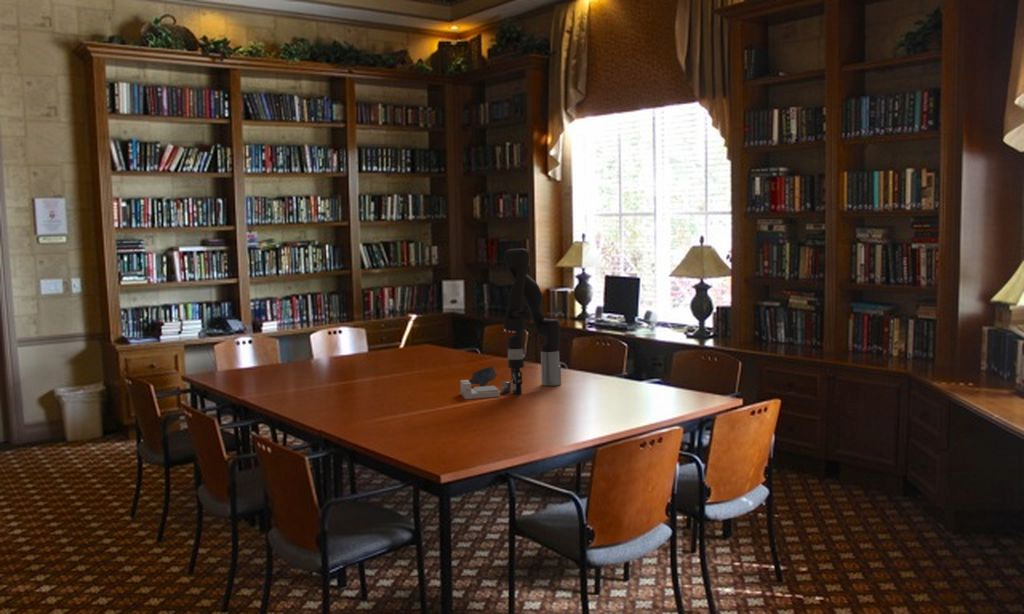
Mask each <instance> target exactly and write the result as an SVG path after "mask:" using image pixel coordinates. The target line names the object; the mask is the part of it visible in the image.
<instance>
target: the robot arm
mask: <svg viewBox="0 0 1024 614" xmlns="http://www.w3.org/2000/svg"><path fill="white" fill-rule="evenodd" d="M503 259H504V263H505V265H506V267H507V269H508V271H509V272H510V274H511V275H512V277H513V279H514V281H513V283H512V285H511V287H510V289H509V292H508V304H507V308H506V313H505V316H504V319H503V328H504V329H505V330H506V331H508V332H516V333H515V335H511V336H509V337H507V362H508V363H507V364H508V365H507V367H508V369H510V374H511V375H510V379H511V383H512V384H513V383H516V393H521V385H522V384H523V373H522V371H521V369H523V368H524V367H525V360H524V359H525V358H524V357H525V355H524V348H523V347H524V345H523V343H524V334H525V330H526V326H527V324H526V320H525V318H524V317H523V316H515V314H516V313H518V312H522V311H523V309H524V303H525V304H526V306H527V308H528V311H529V313H530V315H531V318H532V321H533V324H534V327H535V330H536V332H537V334H538V335H539V336H541V337H543V338H547V341H546V342H545V343H544V344H541V345H540V368H541V369H540V370H541V371H540V372H541V374H540V375H541V385H542V386H544V387H554V386H561V385H562V370H561V364H560V345H561V324H560V322H559V320H557V319H554V318H553V319H552V318H547V317H546V316H545V314H544V312H543V310H542V309H543V303H544V302H543V301H544V296H543V293H542V291H541V289H540V286H539V284H538V283H537V282H536V281H535V280H534V279H533V278H532V277H531V276H530V275H528V270H529V265H530V253H529V252H528V250H527V249H525V248H510V249H507V250H506V251H505V252H504V256H503ZM522 386H523V385H522Z"/></svg>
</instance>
